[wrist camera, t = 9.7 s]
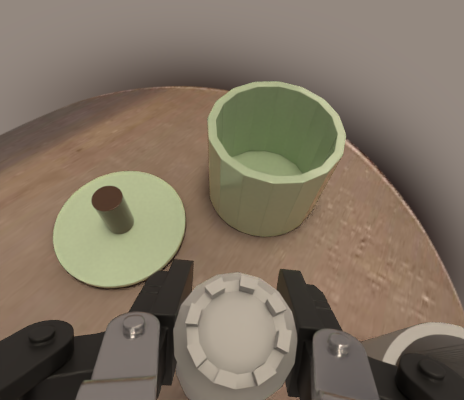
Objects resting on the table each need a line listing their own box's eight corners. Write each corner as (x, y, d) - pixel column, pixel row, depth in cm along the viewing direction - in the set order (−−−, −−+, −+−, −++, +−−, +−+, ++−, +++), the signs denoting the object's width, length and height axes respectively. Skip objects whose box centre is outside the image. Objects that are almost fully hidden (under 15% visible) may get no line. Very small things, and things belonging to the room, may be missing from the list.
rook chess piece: (156, 382, 13) (99, 378, 7) (205, 290, 16) (200, 214, 9) (250, 438, 13) (296, 497, 6) (287, 332, 15) (353, 284, 8)
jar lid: (29, 264, 31) (-9, 239, 26) (100, 164, 38) (81, 128, 33) (153, 309, 30) (140, 292, 24) (204, 195, 36) (202, 163, 31)
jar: (193, 217, 35) (186, 158, 26) (228, 138, 41) (232, 69, 32) (302, 251, 33) (335, 201, 24) (321, 164, 40) (352, 99, 31)
